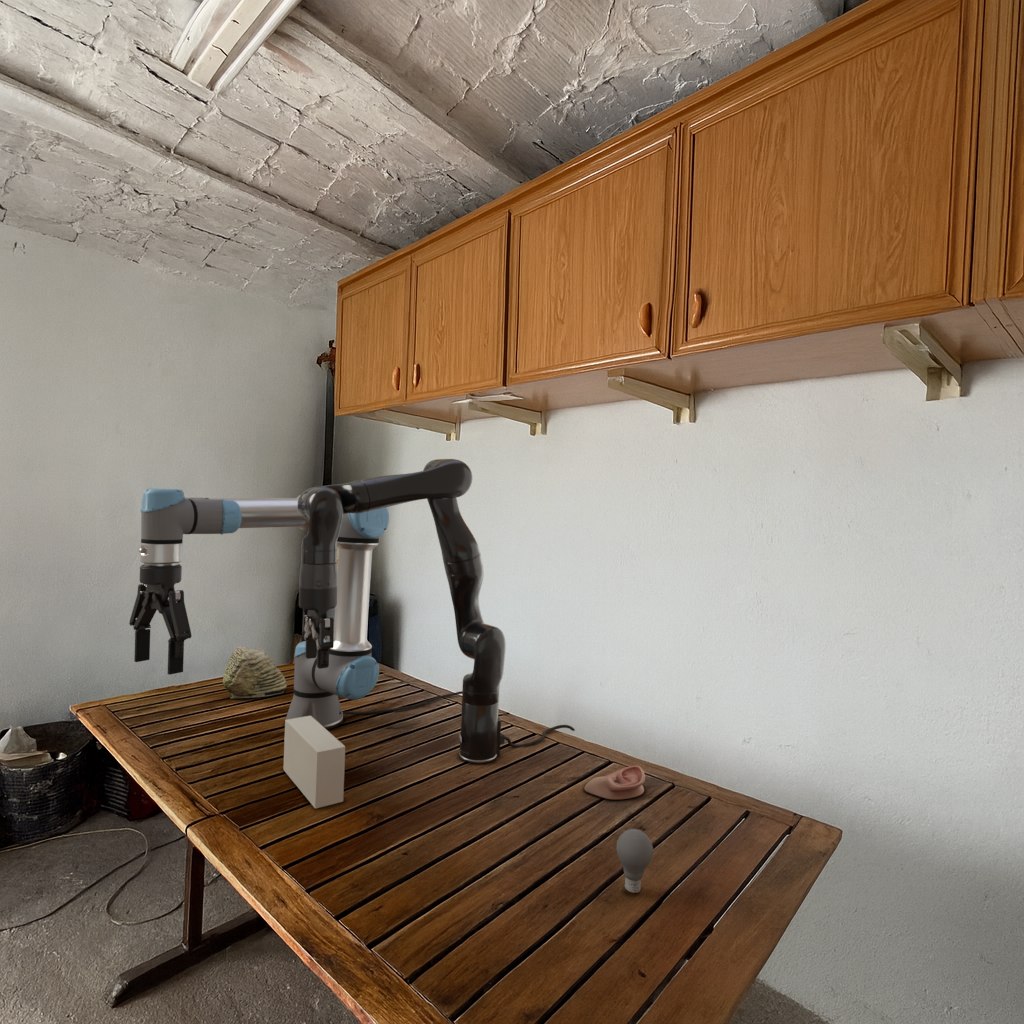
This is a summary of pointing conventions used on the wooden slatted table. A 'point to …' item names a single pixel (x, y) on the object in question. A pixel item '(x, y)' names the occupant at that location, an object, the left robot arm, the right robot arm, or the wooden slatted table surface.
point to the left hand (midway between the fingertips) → (158, 666)
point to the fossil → (252, 674)
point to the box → (314, 761)
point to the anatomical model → (618, 784)
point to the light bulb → (634, 857)
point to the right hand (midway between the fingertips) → (316, 662)
